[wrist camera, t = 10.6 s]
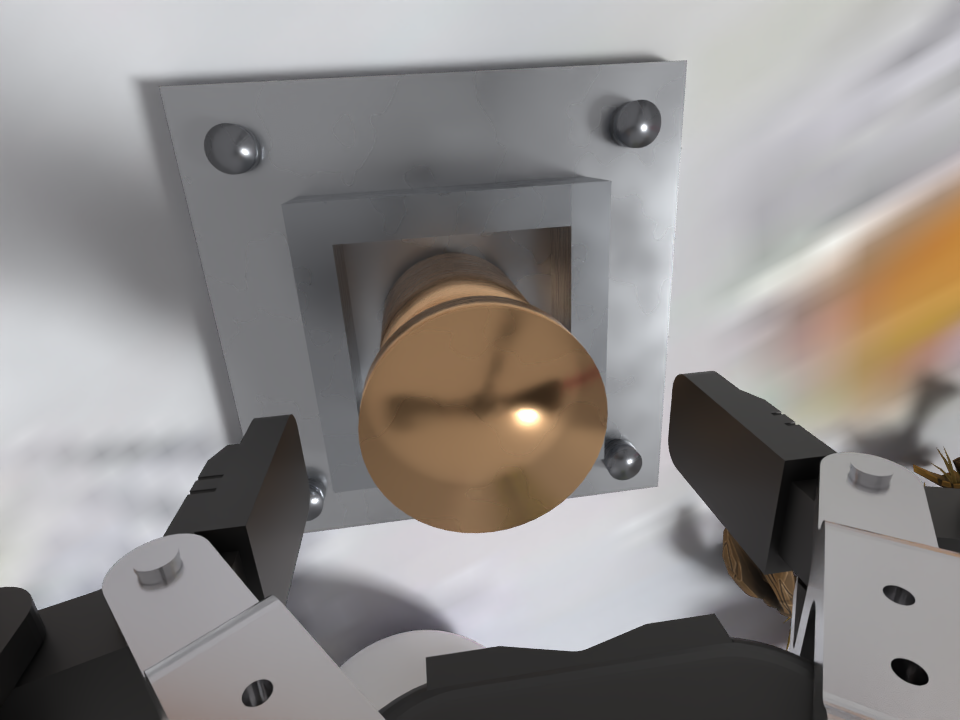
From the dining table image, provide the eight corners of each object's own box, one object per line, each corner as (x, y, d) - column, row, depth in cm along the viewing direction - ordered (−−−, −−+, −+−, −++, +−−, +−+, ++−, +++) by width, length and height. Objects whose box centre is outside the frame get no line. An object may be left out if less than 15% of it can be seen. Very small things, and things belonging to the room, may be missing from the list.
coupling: (169, 89, 17) (119, 76, 14) (675, 63, 19) (729, 47, 16) (271, 525, 23) (252, 584, 20) (649, 476, 24) (685, 523, 21)
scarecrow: (659, 532, 26) (756, 682, 19) (986, 359, 25) (1228, 448, 17) (768, 734, 32) (873, 906, 25) (1034, 604, 31) (1227, 745, 24)
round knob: (363, 251, 19) (340, 320, 11) (529, 237, 19) (611, 295, 12) (384, 403, 21) (375, 547, 13) (533, 386, 21) (604, 516, 14)
